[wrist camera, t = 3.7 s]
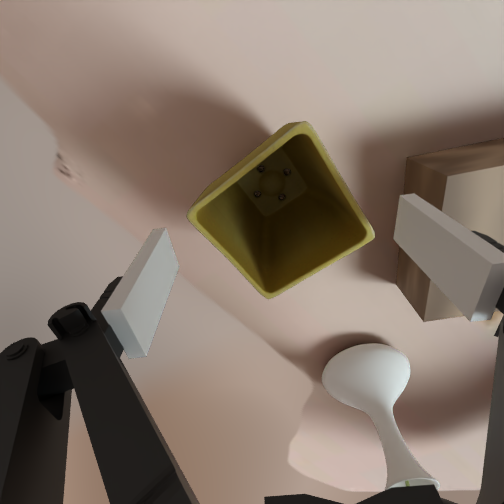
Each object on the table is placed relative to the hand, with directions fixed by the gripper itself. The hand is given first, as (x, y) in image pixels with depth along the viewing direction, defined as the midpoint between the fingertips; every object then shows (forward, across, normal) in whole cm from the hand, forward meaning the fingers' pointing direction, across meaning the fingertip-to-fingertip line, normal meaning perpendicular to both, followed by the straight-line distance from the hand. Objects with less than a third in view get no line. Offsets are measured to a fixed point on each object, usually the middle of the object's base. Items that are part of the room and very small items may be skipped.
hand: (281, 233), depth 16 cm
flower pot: (+10, 0, 0) cm, 10 cm away
